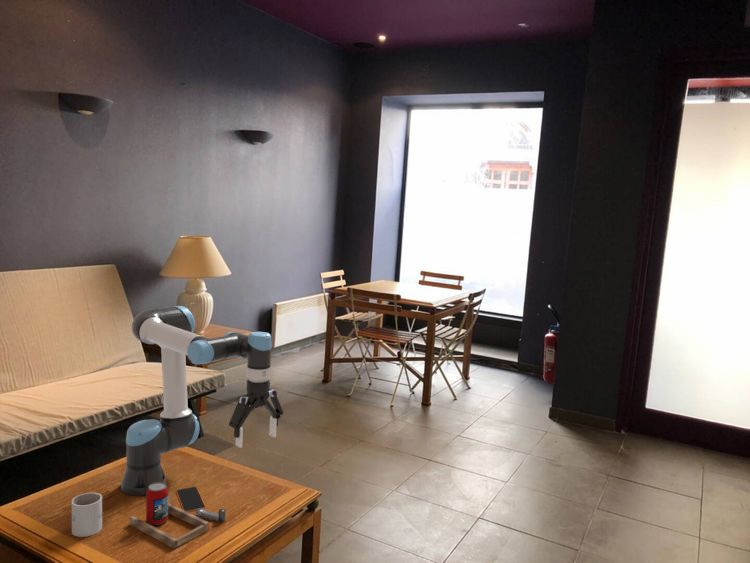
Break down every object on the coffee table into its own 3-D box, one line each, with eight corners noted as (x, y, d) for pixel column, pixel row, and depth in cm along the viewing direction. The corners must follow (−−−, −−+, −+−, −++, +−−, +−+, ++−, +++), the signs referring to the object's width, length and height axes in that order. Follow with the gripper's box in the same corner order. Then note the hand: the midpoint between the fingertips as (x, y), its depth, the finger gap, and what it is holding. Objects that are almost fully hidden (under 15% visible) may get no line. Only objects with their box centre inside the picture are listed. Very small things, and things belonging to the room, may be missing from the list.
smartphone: (183, 513, 197) (183, 511, 197) (175, 492, 212) (175, 489, 211) (206, 509, 201) (206, 507, 200) (196, 488, 215) (197, 486, 215)
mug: (97, 536, 181) (97, 505, 180) (67, 537, 179) (67, 506, 178) (108, 515, 193) (108, 486, 192) (80, 516, 191) (80, 487, 190)
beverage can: (160, 528, 187) (161, 492, 186) (141, 524, 188) (141, 489, 187) (172, 517, 194) (172, 483, 192) (153, 514, 195) (153, 480, 194)
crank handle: (194, 516, 195) (194, 506, 195) (199, 512, 198) (199, 502, 197) (222, 523, 192) (222, 512, 191) (227, 519, 194) (227, 509, 194)
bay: (129, 524, 188) (129, 517, 188) (164, 508, 199) (164, 501, 199) (173, 548, 176) (174, 540, 176) (208, 529, 187) (208, 522, 187)
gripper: (232, 389, 180) (230, 454, 183) (295, 375, 199) (292, 435, 201) (219, 383, 185) (217, 447, 188) (281, 370, 204) (278, 428, 206)
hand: (256, 441), depth 195 cm, fingers open, 13 cm apart
